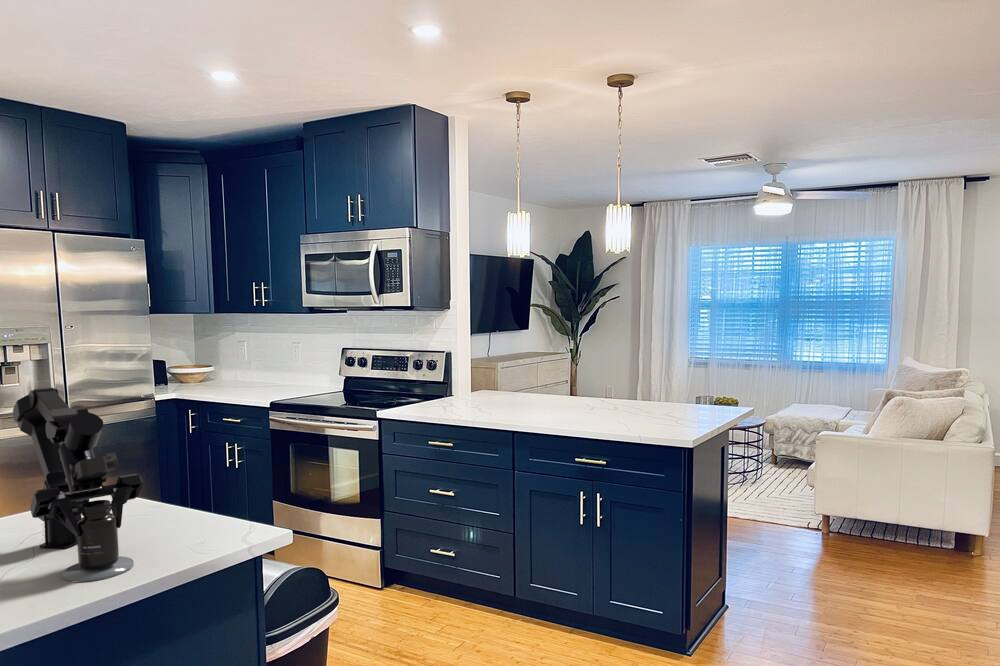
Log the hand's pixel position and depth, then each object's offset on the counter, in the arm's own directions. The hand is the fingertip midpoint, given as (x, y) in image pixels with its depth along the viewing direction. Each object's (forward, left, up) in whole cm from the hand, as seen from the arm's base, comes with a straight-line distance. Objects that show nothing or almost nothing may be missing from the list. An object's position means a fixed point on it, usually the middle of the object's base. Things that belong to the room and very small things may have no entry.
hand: (99, 531), depth 133 cm
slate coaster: (-1, +1, -8) cm, 8 cm away
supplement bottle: (-1, +1, -7) cm, 7 cm away
